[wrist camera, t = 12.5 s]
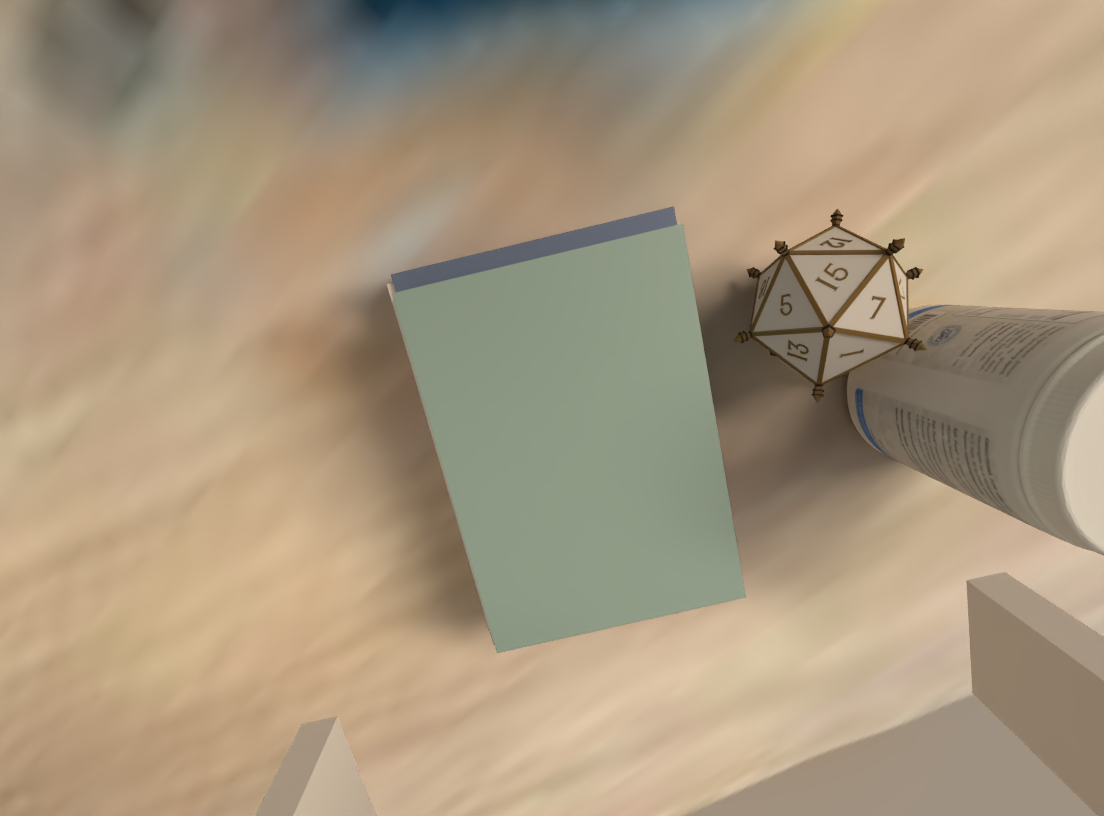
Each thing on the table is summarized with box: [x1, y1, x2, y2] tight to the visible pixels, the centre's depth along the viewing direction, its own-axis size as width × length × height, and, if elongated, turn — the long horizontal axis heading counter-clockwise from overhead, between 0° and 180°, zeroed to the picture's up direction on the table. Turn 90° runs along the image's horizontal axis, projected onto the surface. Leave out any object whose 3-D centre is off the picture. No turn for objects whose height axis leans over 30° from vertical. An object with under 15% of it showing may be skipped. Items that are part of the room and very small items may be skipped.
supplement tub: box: [847, 305, 1104, 555], centre depth 27 cm, size 10×10×15 cm
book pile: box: [387, 207, 746, 653], centre depth 31 cm, size 22×15×6 cm
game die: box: [734, 209, 926, 402], centre depth 29 cm, size 9×8×10 cm
